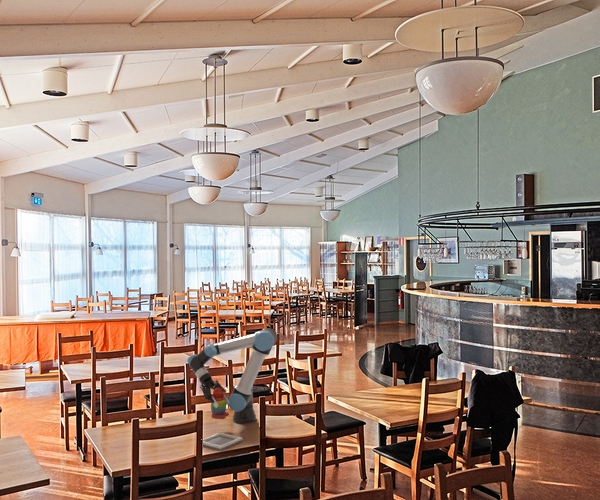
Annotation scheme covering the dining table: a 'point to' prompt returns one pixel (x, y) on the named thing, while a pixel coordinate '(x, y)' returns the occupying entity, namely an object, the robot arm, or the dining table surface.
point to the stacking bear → (220, 410)
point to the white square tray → (221, 441)
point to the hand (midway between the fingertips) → (222, 405)
